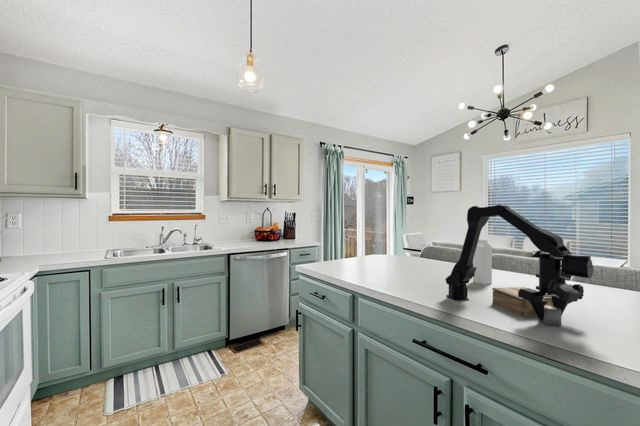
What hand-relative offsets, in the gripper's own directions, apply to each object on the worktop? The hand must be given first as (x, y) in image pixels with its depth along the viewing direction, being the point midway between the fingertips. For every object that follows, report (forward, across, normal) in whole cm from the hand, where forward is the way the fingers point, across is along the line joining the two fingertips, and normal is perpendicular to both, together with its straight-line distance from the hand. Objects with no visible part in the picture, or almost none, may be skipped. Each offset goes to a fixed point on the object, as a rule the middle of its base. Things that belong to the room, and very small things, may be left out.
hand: (549, 319), depth 97 cm
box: (+1, +3, +14) cm, 14 cm away
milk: (+1, +14, +51) cm, 53 cm away
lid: (-4, +3, +14) cm, 15 cm away
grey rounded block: (+1, 0, 0) cm, 1 cm away
